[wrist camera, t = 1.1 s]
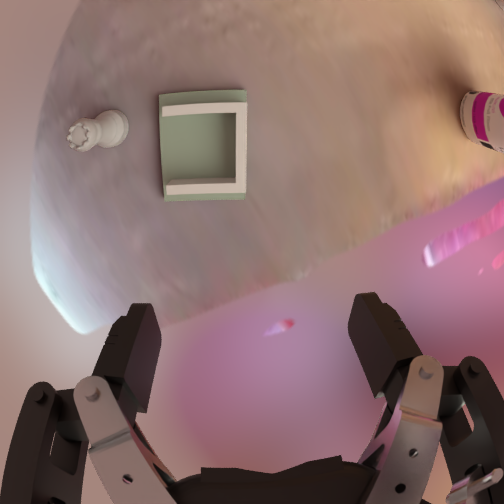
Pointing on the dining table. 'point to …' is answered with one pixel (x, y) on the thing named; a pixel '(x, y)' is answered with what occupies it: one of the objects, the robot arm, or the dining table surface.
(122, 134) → the rook chess piece
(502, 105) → the supplement can
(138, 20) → the dining table surface
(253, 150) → the dining table surface
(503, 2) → the coffee cup
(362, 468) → the robot arm
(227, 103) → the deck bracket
